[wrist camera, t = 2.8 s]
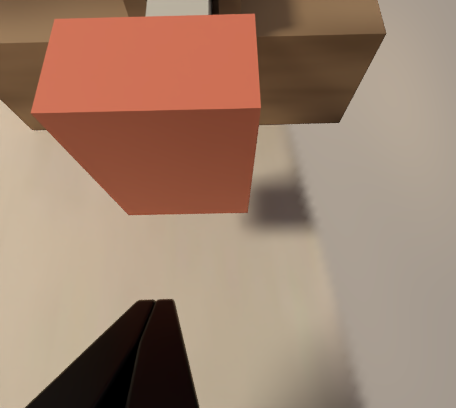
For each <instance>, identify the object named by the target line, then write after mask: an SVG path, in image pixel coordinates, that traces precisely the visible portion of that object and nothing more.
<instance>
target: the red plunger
mask: <svg viewBox="0 0 456 408" xmlns="http://www.w3.org/2000/svg"><path fill="white" fill-rule="evenodd" d="M260 112H261V100H260V85H259V70H258V54H257V39H256V24H255V14H224V15H212V0H147V7H146V16H145V17H109V18H70V19H54V23H53V27H52V31H51V35H50V39H49V43H48V46H47V50H46V54H45V58H44V62H43V66H42V70H41V74H40V78H39V82H38V86H37V90H36V94H35V98H34V102H33V106H32V110H31V114H32V115H33V116H34V117H35V118H36V119H37V121H38V122H39V123H40V124H41V125H42V126H43V127H44V128H45V129H46V130H47V131H48V132H49V133H50V134H51V135H52V136H53V137H54V138H55V139H56V140H57V141H58V142H59V143H60V144H61V145H62V146H63V147H64V148H65V150H66V151H67V152H68V153H69V154H70V155H71V156H72V157H73V158H74V159H75V160H76V161H77V162H78V163H79V164H80V165H81V166H82V167H83V168H84V169H85V170H86V171H87V172H88V173H89V174H90V175H91V176H92V177H93V179H94V180H95V181H96V182H97V183H98V184H99V185H100V186H101V187H102V188H103V189H104V190H105V191H106V192H107V193H108V194H109V195H110V196H111V197H112V198H113V199H114V200H115V201H116V202H117V203H118V204H119V205H120V206H121V208H122V209H123V210H124V211H125V212H126V213H127V214H128V215H157V214H206V213H248V205H249V197H250V189H251V182H252V174H253V166H254V158H255V151H256V143H257V135H258V127H259V120H260Z"/></svg>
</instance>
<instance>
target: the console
mask: <svg viewBox="0 0 456 408" xmlns="http://www.w3.org/2000/svg"><path fill="white" fill-rule="evenodd" d="M146 7H147V0H0V100H2V101H3V102H4V103H5V104H6V105H7V106H8V107H9V108H10V109H11V110H12V111H13V112H14V113H15V114H16V115H17V116H18V117H19V118H20V119H21V120H22V121H23V122H24V123H25V124H26V125H28V126H29V127H30V128H31V129H32V130H46V129H45V128H44V127H43V126H42V125H41V124H40V123H39V122H38V121H37V119H36V118H35V117H34V116H33V115H32V114H31V110H32V106H33V102H34V98H35V94H36V90H37V86H38V82H39V78H40V74H41V70H42V66H43V62H44V58H45V54H46V50H47V46H48V43H49V39H50V35H51V31H52V27H53V23H54V19H70V18H109V17H145V16H146ZM224 14H255V24H256V39H257V54H258V70H259V85H260V100H261V112H260V120H259V125H267V124H304V123H305V124H309V123H339V122H340V120H341V118H342V116H343V115H344V112H345V111H346V109H347V107H348V105H349V103H350V101H351V99H352V98H353V95H354V94H355V92H356V90H357V88H358V86H359V84H360V82H361V80H362V79H363V77H364V75H365V73H366V71H367V69H368V67H369V65H370V63H371V62H372V60H373V58H374V56H375V54H376V52H377V50H378V48H379V46H380V44H381V43H382V41H383V39H384V37H385V35H386V30H385V27H384V23H383V20H382V16H381V12H380V8H379V4H378V1H377V0H212V15H224Z"/></svg>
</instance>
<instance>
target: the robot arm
mask: <svg viewBox="0 0 456 408" xmlns="http://www.w3.org/2000/svg"><path fill="white" fill-rule="evenodd" d="M25 408H199V404H198V399H197V395H196V391H195V387H194V382H193V378H192V374H191V370H190V365H189V361H188V357H187V353H186V348H185V344H184V340H183V336H182V331H181V327H180V323H179V318H178V314H177V310H176V306H175V302H174V300H173V299H159V300H157V301H155V300H139V301H137V302H136V303H135V304H134V305H132V306H131V307H130V308H129V309H128V310H127V311H126V312H125V313H124V314H123V315H122V316H121V317H120V318H119V319H118V320H117V321H116V322H115V323H113V324H112V325H111V326H110V327H109V328H108V329H107V330H106V331H105V332H104V333H103V334H102V335H101V336H100V337H99V338H98V339H97V340H96V341H95V342H93V343H92V344H91V345H90V346H89V347H88V348H87V349H86V350H85V351H84V352H83V353H82V354H81V355H80V356H79V357H78V358H77V359H76V360H75V361H73V362H72V363H71V364H70V365H69V366H68V367H67V368H66V369H65V370H64V371H63V372H62V373H61V374H60V375H59V376H58V377H57V378H56V379H54V380H53V381H52V382H51V383H50V384H49V385H48V386H47V387H46V388H45V389H44V390H43V391H42V392H41V393H40V394H39V395H38V396H37V397H36V398H34V399H33V400H32V401H31V402H30V403H29V404H28V405H27V406H26V407H25Z"/></svg>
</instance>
